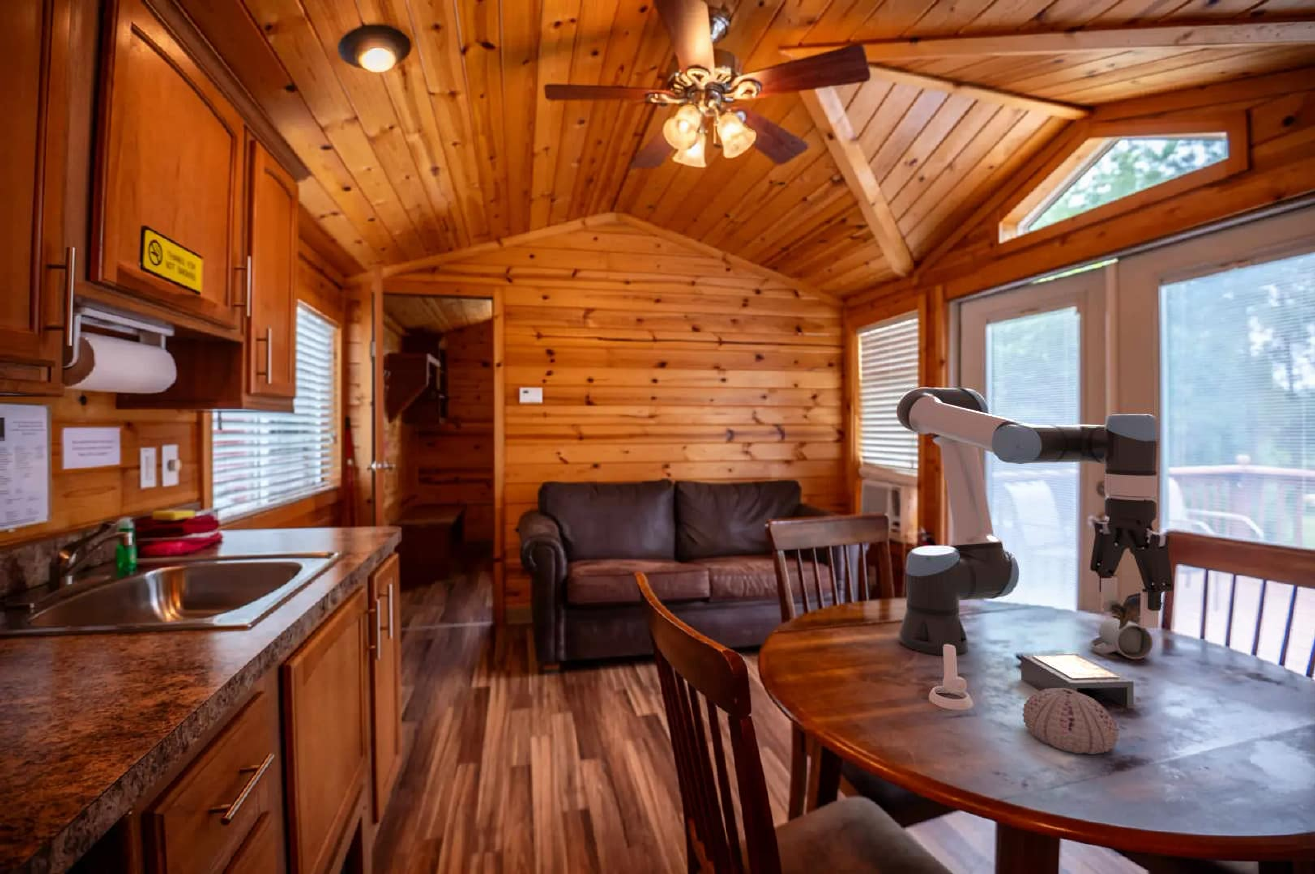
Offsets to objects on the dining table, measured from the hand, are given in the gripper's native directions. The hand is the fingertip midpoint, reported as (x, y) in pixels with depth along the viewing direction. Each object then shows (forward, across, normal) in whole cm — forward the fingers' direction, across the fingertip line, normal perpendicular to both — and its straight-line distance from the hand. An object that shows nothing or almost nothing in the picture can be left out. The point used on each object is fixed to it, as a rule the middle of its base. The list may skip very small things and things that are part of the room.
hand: (1128, 618), depth 110 cm
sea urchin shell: (+17, -10, +19) cm, 28 cm away
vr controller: (+17, +5, +31) cm, 36 cm away
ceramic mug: (+17, +26, -21) cm, 38 cm away
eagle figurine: (+2, +1, -2) cm, 3 cm away
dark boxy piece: (+17, +6, +5) cm, 19 cm away
